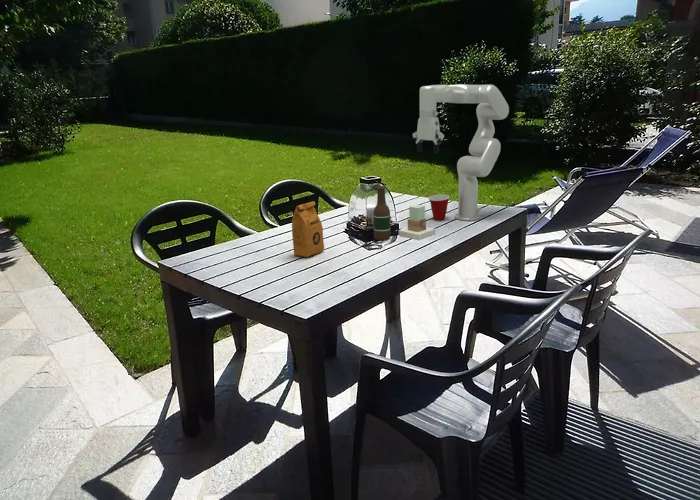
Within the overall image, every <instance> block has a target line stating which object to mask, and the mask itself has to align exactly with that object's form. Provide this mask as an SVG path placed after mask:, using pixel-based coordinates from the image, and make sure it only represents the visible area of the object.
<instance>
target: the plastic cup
mask: <svg viewBox="0 0 700 500" xmlns="http://www.w3.org/2000/svg"><path fill="white" fill-rule="evenodd" d="M427 199H428V201H429V203H430V208H431V213H432V217H433V221H438V222H440V221H445V220H446V215H447V212H448V211H447V210H448V203H449V200H450V195H448V194H435V195H431V196H428V198H427Z"/></svg>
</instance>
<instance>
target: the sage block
mask: <svg viewBox="0 0 700 500" xmlns="http://www.w3.org/2000/svg"><path fill="white" fill-rule="evenodd" d="M408 211H409V212H408V213H409V217H408V219H410V220H415V221H420V220H423V219H426V214H425V213H426V207H425V205H419V204H414V205H411V206H409V209H408Z"/></svg>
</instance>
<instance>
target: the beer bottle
mask: <svg viewBox="0 0 700 500" xmlns="http://www.w3.org/2000/svg"><path fill="white" fill-rule="evenodd" d="M385 189H386V187H385V186H384V185H380V186H379V185H378V186H377V187H376V190H377V200H376V206H375V207H374V209H373V217H372V218H373V220H372V221H373V239H374V240H376V241H388V240H390V238H391V210H390V207H389V206H388V205H387V201H386V191H385Z"/></svg>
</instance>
